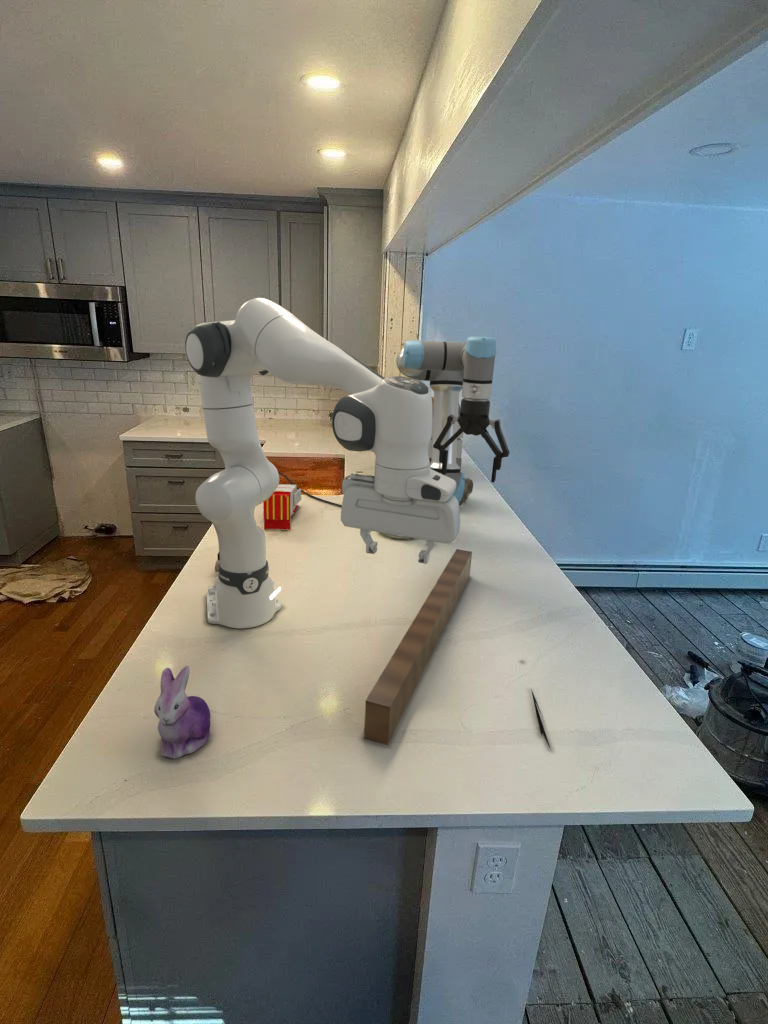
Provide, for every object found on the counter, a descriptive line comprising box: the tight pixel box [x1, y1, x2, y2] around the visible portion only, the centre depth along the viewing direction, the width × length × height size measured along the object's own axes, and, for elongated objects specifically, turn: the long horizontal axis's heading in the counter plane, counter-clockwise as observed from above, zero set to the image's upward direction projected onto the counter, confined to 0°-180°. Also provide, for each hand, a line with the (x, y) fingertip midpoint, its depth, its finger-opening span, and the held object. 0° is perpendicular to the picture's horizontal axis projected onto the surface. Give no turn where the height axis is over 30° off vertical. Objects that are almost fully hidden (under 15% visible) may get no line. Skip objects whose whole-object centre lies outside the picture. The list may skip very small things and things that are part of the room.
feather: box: [521, 660, 551, 748], centre depth 116 cm, size 2×28×2 cm
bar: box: [363, 548, 473, 746], centre depth 136 cm, size 75×5×8 cm, turn 161°
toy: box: [262, 483, 302, 531], centre depth 210 cm, size 12×13×30 cm
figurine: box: [153, 665, 211, 759], centre depth 99 cm, size 9×10×15 cm
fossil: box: [459, 477, 474, 508], centre depth 233 cm, size 22×10×15 cm
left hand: (397, 557), depth 97 cm, fingers open, 8 cm apart
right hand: (468, 477), depth 154 cm, fingers open, 13 cm apart
